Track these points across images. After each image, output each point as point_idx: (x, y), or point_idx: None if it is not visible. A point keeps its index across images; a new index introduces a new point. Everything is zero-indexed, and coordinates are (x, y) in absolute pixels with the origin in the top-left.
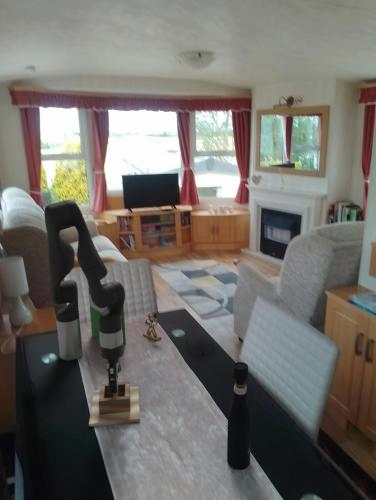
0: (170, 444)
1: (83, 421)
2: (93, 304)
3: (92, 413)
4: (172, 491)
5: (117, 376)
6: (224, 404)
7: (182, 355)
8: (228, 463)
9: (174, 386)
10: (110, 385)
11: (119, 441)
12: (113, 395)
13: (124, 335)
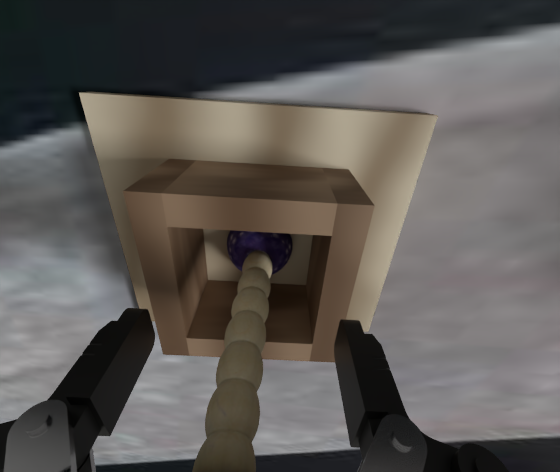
0: (45, 369)
1: (137, 47)
2: None
3: (181, 113)
4: None
5: (336, 364)
6: None
7: (505, 440)
8: None
9: (333, 406)
10: (82, 379)
11: (16, 240)
12: (254, 263)
13: None
